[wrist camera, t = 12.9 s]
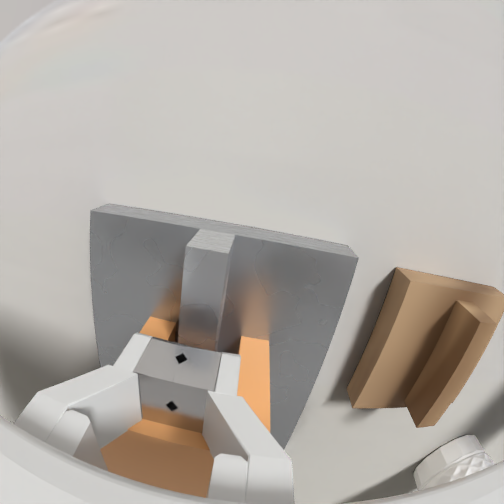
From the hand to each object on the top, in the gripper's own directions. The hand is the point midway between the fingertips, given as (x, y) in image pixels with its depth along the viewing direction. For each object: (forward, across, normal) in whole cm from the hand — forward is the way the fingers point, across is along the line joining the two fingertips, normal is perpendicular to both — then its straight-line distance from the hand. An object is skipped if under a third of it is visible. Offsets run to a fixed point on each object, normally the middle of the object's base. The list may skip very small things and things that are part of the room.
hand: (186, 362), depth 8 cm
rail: (+5, 0, +11) cm, 12 cm away
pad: (+5, -11, +1) cm, 12 cm away
